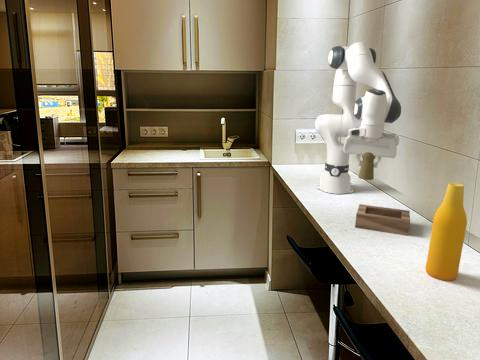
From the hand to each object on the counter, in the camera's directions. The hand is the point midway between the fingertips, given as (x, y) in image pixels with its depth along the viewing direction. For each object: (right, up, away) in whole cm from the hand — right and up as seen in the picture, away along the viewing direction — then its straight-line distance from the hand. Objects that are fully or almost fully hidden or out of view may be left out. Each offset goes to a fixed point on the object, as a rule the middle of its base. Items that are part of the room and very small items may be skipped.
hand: (367, 166), depth 177 cm
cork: (0, -5, +1) cm, 5 cm away
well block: (+7, -24, +3) cm, 25 cm away
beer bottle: (+12, -35, -39) cm, 53 cm away
